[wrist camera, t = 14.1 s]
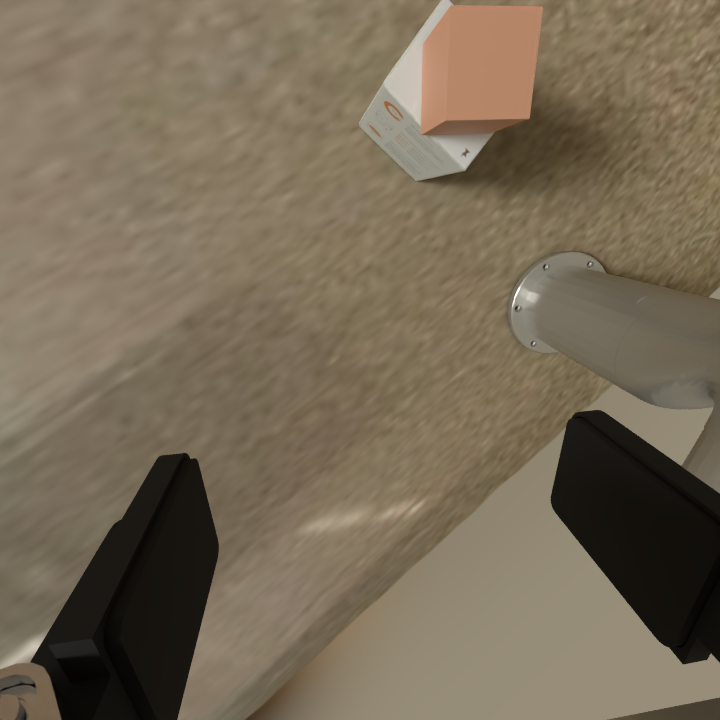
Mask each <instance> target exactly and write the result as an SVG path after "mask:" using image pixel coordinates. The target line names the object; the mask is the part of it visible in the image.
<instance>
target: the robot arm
mask: <svg viewBox="0 0 720 720" xmlns="http://www.w3.org/2000/svg"><path fill="white" fill-rule="evenodd" d="M543 265H544V266H543ZM515 307H516V308H515ZM508 321H509V325H510V329H511V331H512V333H513V335H514V336H515V338H516V339H517V340H518V341H519V342H520V343H521V344H523V345H524V346H525V347H527V348H528V349H530V350H533V351H536V352H539V353H547V354H548V353H557V352H560V353H562V354H564V355H566V356H567V357H569V358H571V359H572V360H574V361H576V362H577V363H579V364H581V365H582V366H584V367H586V368H587V369H589V370H591V371H593V372H594V373H596V374H598V375H599V376H601V377H603V378H604V379H606V380H608V381H609V382H611V383H613V384H614V385H616V386H618V387H619V388H621V389H623V390H625V391H627V392H628V393H630V394H632V395H633V396H635V397H637V398H639V399H640V400H642V401H645V402H647V403H649V404H652V405H655V406H659V407H663V408H669V409H701V408H710V407H714V408H713V411H712V413H711V415H710V417H709V419H708V421H707V422H706V424H705V426H704V430H703V431H702V433H701V435H700V436H699V438H698V440H697V441H696V443H695V445H694V447H693V448H692V450H691V451H690V453H689V455H688V456H687V458H686V460H685V461H684V463H683V465H682V466H680V465H679V464H677V463H676V462H674V461H673V460H672V459H670V458H669V457H667V456H666V455H664V454H663V453H662V452H660V451H659V450H657V449H656V448H655V447H653V446H652V445H650V444H649V443H647V442H646V441H644V440H643V439H642V438H640V437H639V436H637V435H636V434H635V433H633V432H632V431H630V430H629V429H628V428H626V427H625V426H623V425H622V424H620V423H619V422H618V421H616V420H615V419H613V418H612V417H610V416H609V415H608V414H606V413H605V412H603V411H601V410H593V411H584V412H577V413H575V414H574V415H573V417H572V419H570V420H569V421H568V423H567V426H566V431H565V435H564V440H563V445H562V449H561V453H560V458H559V463H558V467H557V471H556V476H555V481H554V485H553V490H552V494H551V504H552V507H553V509H554V511H555V513H556V514H557V515H558V516H559V518H560V519H561V520H562V521H563V523H564V524H565V525H566V526H567V527H568V529H569V530H570V531H571V533H572V534H573V535H574V536H575V538H576V539H577V540H578V541H579V543H580V544H581V545H582V546H583V547H584V549H585V550H586V551H587V552H588V554H589V555H590V556H591V558H592V559H593V560H594V561H595V563H596V564H597V565H598V566H599V568H600V569H601V570H602V571H603V573H604V574H605V575H606V576H607V577H608V579H609V580H610V581H611V583H612V584H613V585H614V586H615V588H616V589H617V590H618V591H619V593H620V594H621V595H622V596H623V598H625V600H626V601H627V603H628V604H629V605H630V606H631V607H632V609H633V610H634V611H635V612H636V614H637V615H638V616H639V617H640V619H641V620H642V621H643V622H644V624H645V625H646V626H647V627H648V629H649V630H650V631H651V632H652V634H653V635H654V636H655V637H656V638H657V640H659V642H661V643H662V644H663V645H664V646H667V647H669V648H670V649H671V650H672V651H673V653H674V654H675V655H676V656H677V657H678V659H679V660H680V661H681V662H682V664H688V663H693V662H698V661H703V660H707V659H708V657H709V655H710V654H711V653H712V655H713V656H714V657H715V658H716V659H717V660H718V661H719V662H720V300H718V299H713V298H709V297H705V296H701V295H696V294H692V293H688V292H684V291H679V290H675V289H671V288H667V287H662V286H658V285H654V284H650V283H645V282H641V281H637V280H633V279H628V278H624V277H620V276H616V275H611V274H607V273H606V271H605V270H604V268H603V266H602V265H601V264H600V263H599V262H598V261H597V260H596V259H595V258H593V257H591V256H590V255H587V254H584V253H580V252H574V251H563V252H558V253H554V254H551V255H548V256H546V257H544V258H542V259H540V260H539V261H538V262H536V263H535V264H533V265H532V266H531V267H530V268H529V269H528V270H527V271H526V272H525V273H524V274H523V275H522V277H521V278H520V279H519V281H518V282H517V284H516V286H515V288H514V289H513V292H512V295H511V298H510V301H509V306H508ZM218 552H219V544H218V538H217V534H216V530H215V526H214V523H213V519H212V515H211V511H210V507H209V503H208V499H207V495H206V491H205V487H204V483H203V479H202V475H201V471H200V467H199V463H198V461H197V459H195V458H194V459H190V457H189V455H188V454H186V453H182V454H172V455H162V456H159V457H158V459H157V460H156V462H155V463H154V465H153V467H152V468H151V470H150V472H149V474H148V475H147V477H146V479H145V480H144V482H143V484H142V485H141V487H140V489H139V491H138V492H137V494H136V496H135V497H134V499H133V501H132V503H131V504H130V506H129V508H128V509H127V511H126V513H125V515H124V516H123V518H122V520H119V521H118V522H116V523H115V524H114V525H113V526H112V528H111V529H110V530H109V532H108V534H107V535H106V537H105V539H104V540H103V542H102V544H101V545H100V547H99V549H98V550H97V552H96V554H95V555H94V557H93V559H92V560H91V562H90V564H89V565H88V567H87V569H86V570H85V572H84V574H83V575H82V577H81V579H80V580H79V582H78V584H77V585H76V587H75V589H74V590H73V592H72V594H71V595H70V597H69V599H68V600H67V602H66V604H65V605H64V607H63V609H62V610H61V612H60V614H59V615H58V617H57V619H56V620H55V622H54V624H53V625H52V627H51V628H50V630H49V632H48V633H47V635H46V637H45V638H44V640H43V642H42V643H41V645H40V647H39V648H38V650H37V652H36V653H35V655H34V657H33V658H32V660H31V662H30V663H20V664H14V665H12V666H9V667H6V668H3V669H0V720H177V718H178V714H179V710H180V706H181V702H182V698H183V694H184V690H185V686H186V682H187V678H188V674H189V670H190V666H191V662H192V658H193V654H194V650H195V646H196V642H197V638H198V634H199V630H200V626H201V622H202V618H203V614H204V610H205V606H206V602H207V598H208V595H209V591H210V587H211V583H212V579H213V575H214V571H215V567H216V563H217V559H218ZM609 720H720V698H716V699H710V700H705V701H701V702H695V703H691V704H685V705H680V706H675V707H670V708H664V709H659V710H654V711H649V712H644V713H639V714H635V715H629V716H624V717H619V718H614V719H609Z"/></svg>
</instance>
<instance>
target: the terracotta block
mask: <svg viewBox="0 0 720 720" xmlns="http://www.w3.org/2000/svg"><path fill="white" fill-rule="evenodd" d="M542 11H543V6H464V5H451V6H450V7H449V8H448V10H447V11H446V13H445V14H444V15H443V17H442V18H441V19H440V21H439V22H438V24H437V25H436V26H435V28H434V29H433V30H432V32H431V33H430V35H429V36H428V37H427V39H426V40H425V41H424V43H423V57H422V103H421V135H451V134H490V133H493V132H496V131H498V130H501V129H504V128H506V127H509V126H512V125H514V124H517V123H520V122H522V121H525V120H528V119H530V111H531V103H532V94H533V86H534V78H535V69H536V61H537V52H538V44H539V36H540V27H541V19H542Z"/></svg>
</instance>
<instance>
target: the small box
mask: <svg viewBox="0 0 720 720" xmlns="http://www.w3.org/2000/svg"><path fill="white" fill-rule="evenodd" d="M451 5H454V4H453V3H452V1H451V0H441V2H440V3H439V4H438V6H437V7H436V8H435V10H434V11H433V13H432V14H431V15H430V17H429V18H428V20H427V21H426V22H425V24H424V25H423V27H422V28H421V30H420V31H419V32H418V34H417V35H416V37H415V38H414V39H413V41H412V42H411V44H410V45H409V47H408V48H407V49H406V51H405V52H404V54H403V55H402V56H401V58H400V59H399V61H398V62H397V63H396V65H395V66H394V68H393V69H392V70H391V72H390V73H389V75H388V76H387V78H386V79H385V81H384V82H383V84H382V86H381V88H380V90H379V91H378V93H377V94H376V96H375V98H374V99H373V101H372V103H371V104H370V106H369V107H368V109H367V111H366V112H365V114H364V115H363V117H362V119H361V121H360V123H359V126H360V127H361V128H362V129H363V130H364V131H365V132H366V133H367V134H368V135H369V136H370V137H371V138H372V139H373V140H374V141H375V142H376V143H377V144H378V145H379V146H380V147H381V148H382V149H383V150H384V151H385V152H386V153H387V154H388V155H389V156H390V157H391V158H392V159H394V160H395V161H396V162H397V163H398V164H399V165H400V166H401V167H402V168H403V169H404V170H405V171H406V172H407V173H408V174H409V175H410V176H411V177H412V178H413V179H415V180H416V181H421V180H425V179H430V178H434V177H439V176H443V175H448V174H453V173H457V172H462V171H465V170H466V169H467V168H468V166H469V165H470V164H471V162H472V161H473V160H474V158H475V157H476V156H477V154H478V153H479V152H480V151H481V149H482V148H483V147H484V145H485V144H486V143H487V141H488V140H489V139H490V138H491V136H492V135H493V134H494V132H493V133H490V134H451V135H421V103H422V57H423V43H424V41H425V40H426V39H427V37H428V36H429V35H430V33H431V32H432V30H433V29H434V28H435V26H436V25H437V24H438V22H439V21H440V19H441V18H442V17H443V15H444V14H445V13H446V11H447V10H448V8H449V7H450V6H451Z"/></svg>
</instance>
